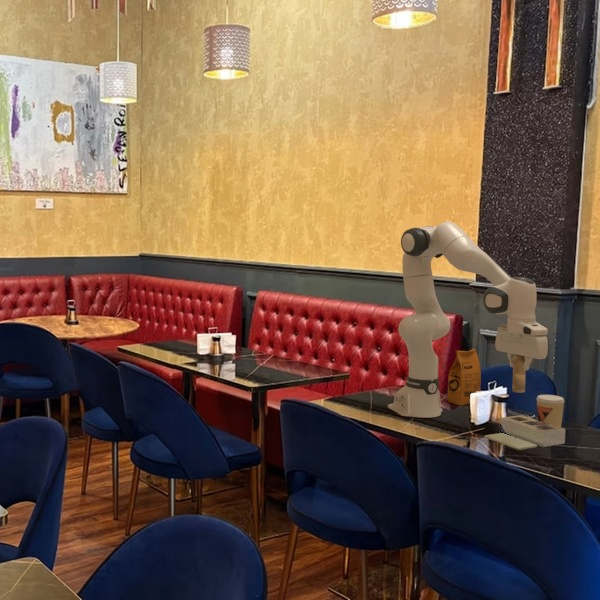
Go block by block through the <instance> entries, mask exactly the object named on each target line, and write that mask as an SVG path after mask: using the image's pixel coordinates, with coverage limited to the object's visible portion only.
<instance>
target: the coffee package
mask: <svg viewBox="0 0 600 600" xmlns="http://www.w3.org/2000/svg"><path fill="white" fill-rule="evenodd" d="M454 354H455V355H456V357H455V359H454V362H453V364H452V365H451V367H450V369H449V372H448V376H447V377H448V379H447V380H448V382H447V383H448V384H447V398H446V399H447V401H448V403H451V404H453V405H457V406H461V407H463V406H465V405H470V404H469V399H470V394H471V393H472V392H476V391H480V392H481V387H482V386H481V385H482V384H481V383H482V380H481V377H482V373H481V372H482V371H481V369H482V367H481V362H480V359H479V356H478V352H477V350H476V349H475V348H472V349H471V350H468V351H466V350H455V352H454Z"/></svg>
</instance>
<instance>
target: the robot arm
mask: <svg viewBox="0 0 600 600" xmlns="http://www.w3.org/2000/svg"><path fill="white" fill-rule="evenodd" d="M400 244H401V245H400V246H401V249H402V251H403V252H404V253H403V255H402V278H403V285H404V293H405V298H406V300H407V301H408V302H409V304H411V306H412V308H413V310H414V313H412V314H410V315H407V316H405V317H403V318H402V319H401V320H400V322H399V324H398V334H399V336H400V337H401V339H402V340H403V341H404V343H405V345H406V348H407V349H406V350H407V353H408V376H405V377H404V379H403V380H404V381H405V385H403V387H401V388H400V389H398V390H397V391H396V392H395V393H394V396H393V397H394V398H393V403H389V404H387V408H388V409H390V410H391V411H394V412H396V414H398V415H400V416H403V417H411V418H412V417H413V418H437V417H440V416H441V415H442V412H443V408H442V407H441V406H442V405H441V393H440V390H439V387H440V378H439V357H438V355H437V354H436V353H435V351H434V348H433V341H435V340H440V339H441V338H444V337H445V336H447V334H449V332H450V330H451V320H450V318H449V317H448V316H447V315H446V314H445V312H444V311H443V310H442V307H441V306H440V303H439V300H438V298H437V297H438V296H437V295H436V289H435V283H434V277H433V271H432V261H433V259H434V258H435V259H439V258H441V257H442V256H443V257H444V258H445V259H446V260H447V261H448V263H449V265H452V267H454V268H455V269H456V270H459V271H463V272H465V273H466V272H468V273H472V274H476V275H478V276H479V275H480V276H481V277H484V278H486V279H487V281H489V282H490V283H491V284H492V285H493V286H491V287H490V286H489V287H488V288H486V290H485V291H484V294H483V297H482V303H483V306H484V309H485V310H486V311H487V312H488V313H490V314H492V315H507V320H506V321H507V323H506V324H505V323H501V324H500V325H498V327H497V332H496V336H495V341H494V342H495V343H494V348H495V350H496V351H498V352H503V353H507V358H508V360H509V366H510V368H513V359H514V355H515V354H516V355H520V356H525V360H526V361H525V363H524V364H522V369H523V370H526V371H529V370H530V365H531V363H532V361H533V359H536V360H543V359H546V357H548V354H549V353H548V351H549V344H548V343H549V341H548V337H547V335H548V332H549V331H548V328H547V327H545V326H543V325H542V324H540V323H539V322H538V321H537V320H536V318H537V317H536V307H537V298H538V297H537V296H538V295H537V286H536V282H535V281H534V280H533V279H531V278H529V277H525V276H524V277H523V276H513V277H512V276H511V274H509V272H507V271H506V270H505V269H504V268H503V267H502V266H501V265H500V264H499V262H496V260H495V259H494V258H492V257H491V256H490V255H489V254H487V253H486V252H485V251H484V250H482V249H481V248H480V247H479V246H478V245H477V244H476V243H475V242H474V241H473V240H472V238H471V237H470V236H469V235H468V233H466V231H464V230H463V228H461V227H460V226H458V224H457V223H455V222H453V221H444V222H441V223H440V224H438V225H426V226H419V227H411V228H409V229H407V230H405V231H404V232H403V233H402V235H401V238H400Z"/></svg>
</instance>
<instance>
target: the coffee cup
mask: <svg viewBox="0 0 600 600" xmlns="http://www.w3.org/2000/svg"><path fill="white" fill-rule="evenodd" d="M564 405H565V399H564V397H563V396H559V395H555V394H540V395H537V397H536V420H539V421H542V422H545V423H548V424H551V425H555V426H558V427H561V428H562V421H563V415H564V414H563V413H564Z"/></svg>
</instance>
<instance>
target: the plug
mask: <svg viewBox="0 0 600 600" xmlns="http://www.w3.org/2000/svg"><path fill="white" fill-rule="evenodd" d="M525 361H526V360H525V356H520V355H516V354H515V355H514V359H513V367H512V386H511V387H512V388H511V391H512V393H513V392H514V393H519V394H520V393H525V392H526V373H527V370H523V369H522V364H524V363H525Z"/></svg>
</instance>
